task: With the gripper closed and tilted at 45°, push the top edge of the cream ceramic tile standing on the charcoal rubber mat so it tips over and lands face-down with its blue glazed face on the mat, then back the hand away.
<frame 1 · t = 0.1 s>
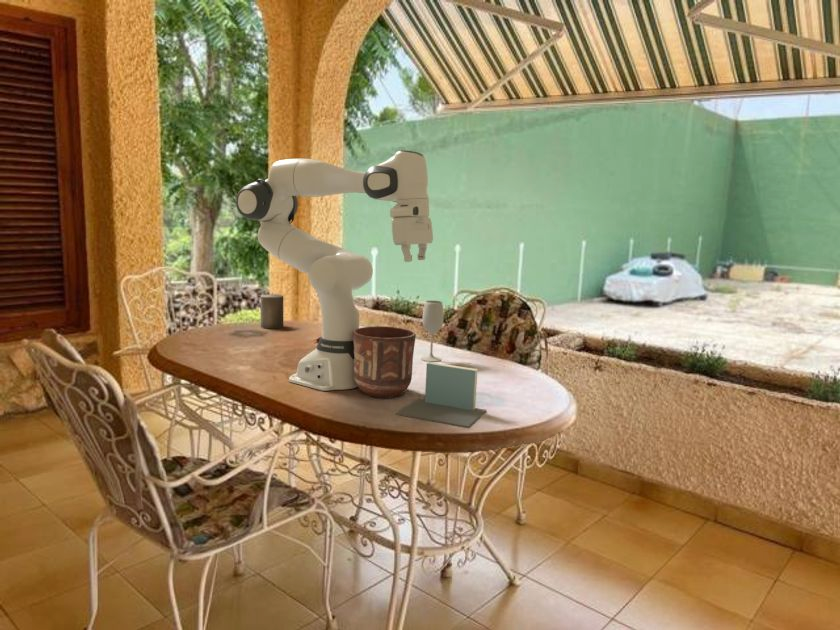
hand: (415, 260, 173), 39 cm above the table, fingers open, 8 cm apart
mat: (441, 412, 166), on the table
pillar candle: (271, 327, 269), on the table
pottery: (382, 392, 182), on the table
tile: (449, 405, 171), resting on mat
wineglass: (430, 359, 224), on the table
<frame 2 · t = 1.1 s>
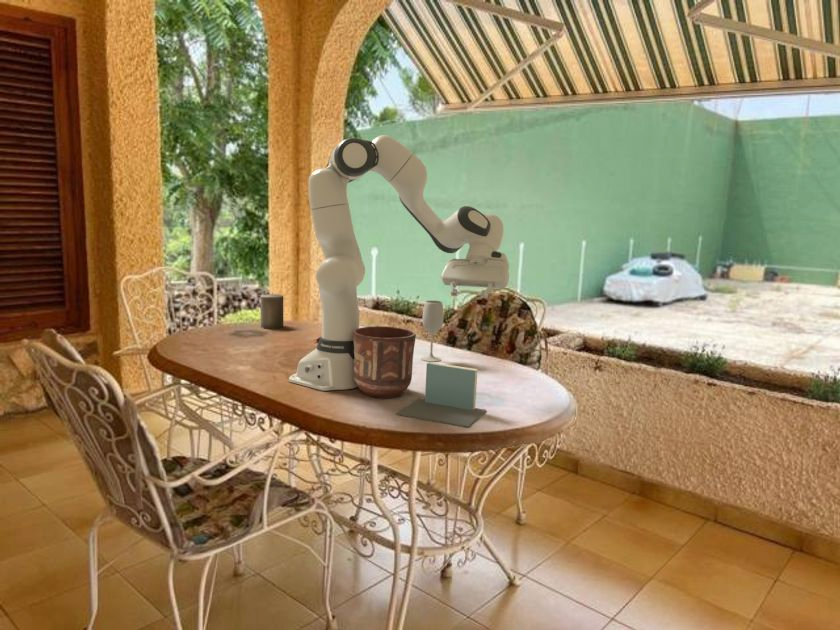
hand: (468, 296, 182), 29 cm above the table, fingers open, 8 cm apart
nothing on the table moved.
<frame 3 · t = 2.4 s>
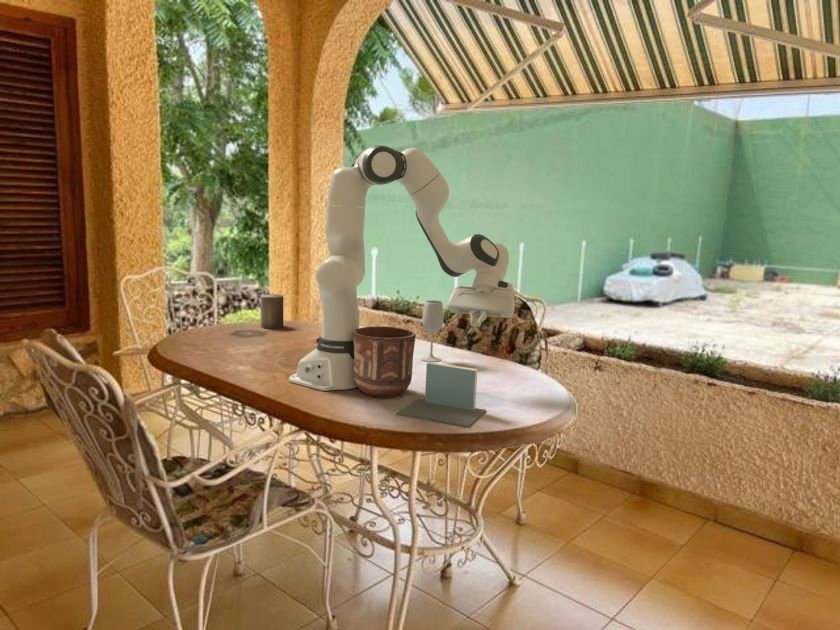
hand: (474, 324, 184), 20 cm above the table, fingers closed
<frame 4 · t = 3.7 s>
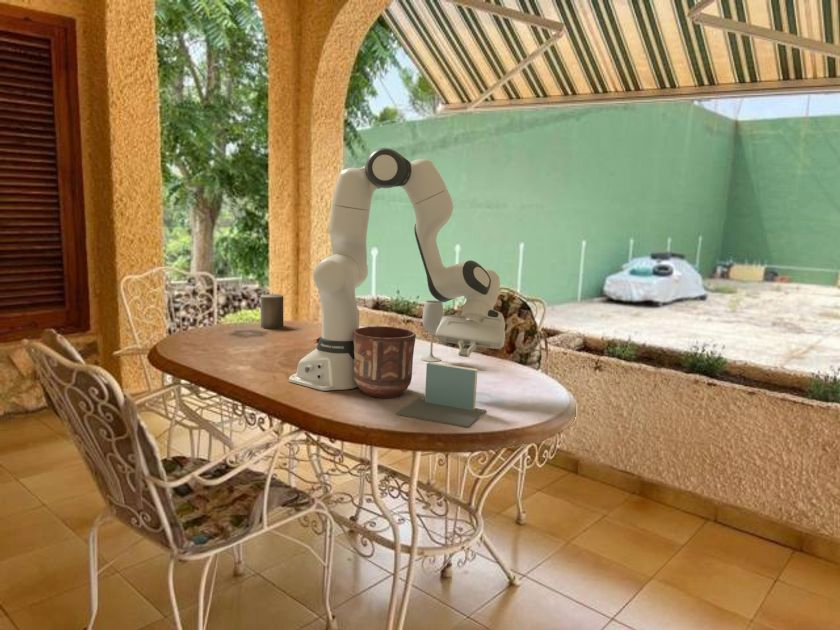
hand: (463, 355, 177), 12 cm above the table, fingers closed
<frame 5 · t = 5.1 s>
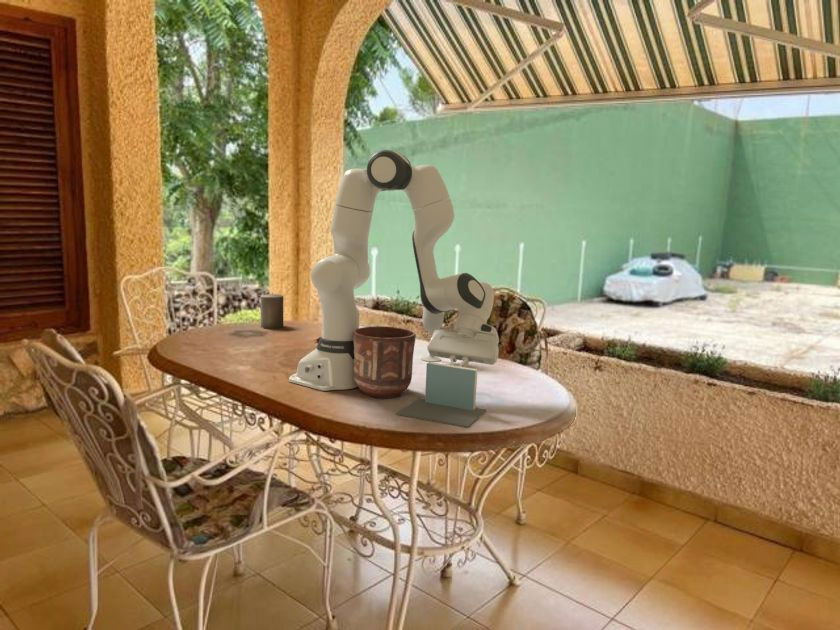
hand: (455, 371, 173), 9 cm above the table, fingers closed
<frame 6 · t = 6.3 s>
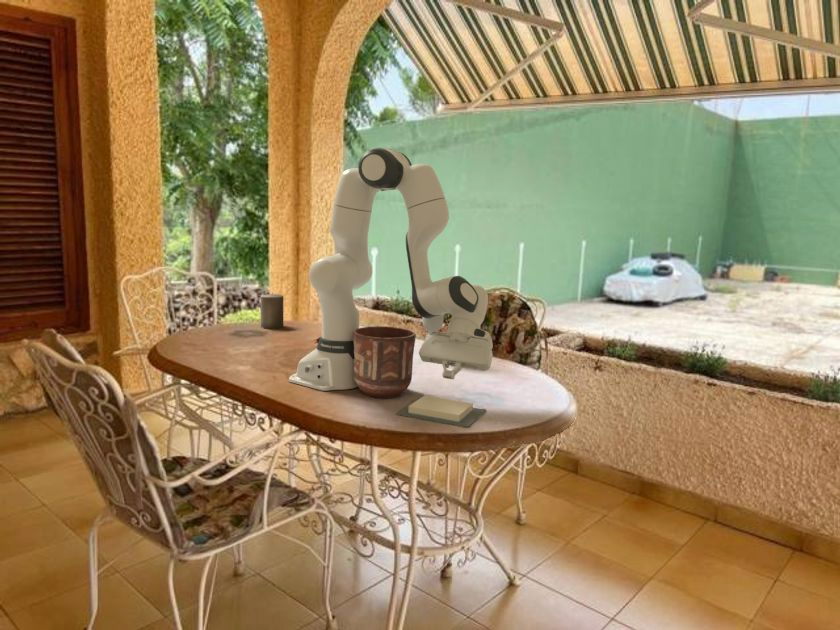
hand: (447, 377, 167), 9 cm above the table, fingers closed
tile: (448, 402, 170), point 1 cm above the table, tilted 90°, touching mat
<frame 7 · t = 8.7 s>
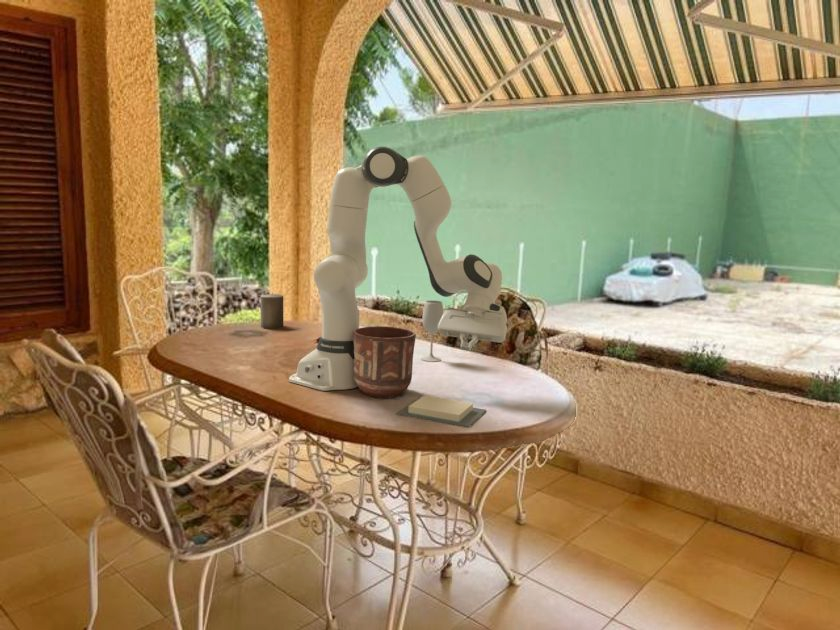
hand: (465, 349, 178), 14 cm above the table, fingers closed
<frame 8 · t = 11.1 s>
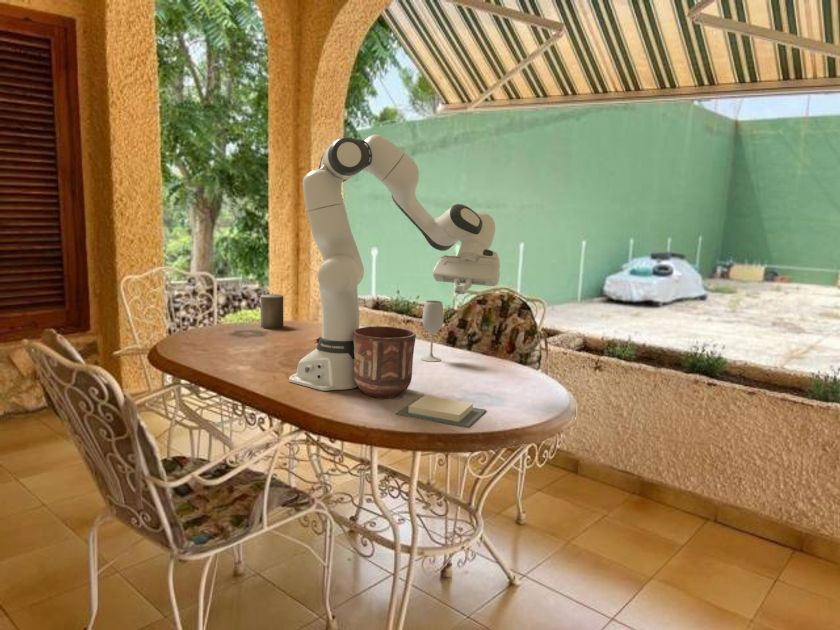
hand: (459, 292, 183), 29 cm above the table, fingers closed
at the end: tile tilted 90°; tile inside the target area on the mat (0.0 cm from its centre), point 1.4 cm above the mat's base; the gripper is holding nothing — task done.
